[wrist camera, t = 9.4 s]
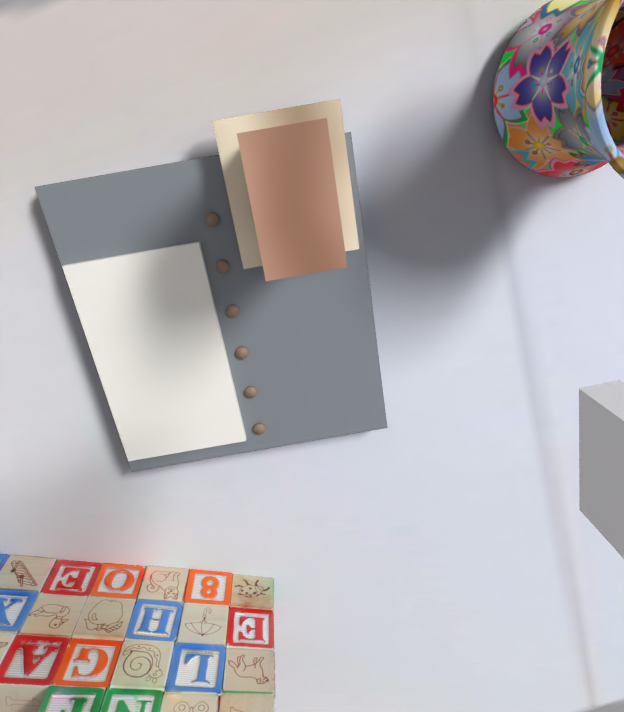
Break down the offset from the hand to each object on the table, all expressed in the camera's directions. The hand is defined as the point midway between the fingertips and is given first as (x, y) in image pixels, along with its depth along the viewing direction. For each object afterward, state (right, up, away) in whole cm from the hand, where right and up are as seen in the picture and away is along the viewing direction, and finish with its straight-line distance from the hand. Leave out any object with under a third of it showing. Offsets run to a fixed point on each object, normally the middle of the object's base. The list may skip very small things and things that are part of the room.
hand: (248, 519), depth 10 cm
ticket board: (-4, +6, +21) cm, 22 cm away
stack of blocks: (-12, -14, +28) cm, 34 cm away
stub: (0, +12, +17) cm, 20 cm away
